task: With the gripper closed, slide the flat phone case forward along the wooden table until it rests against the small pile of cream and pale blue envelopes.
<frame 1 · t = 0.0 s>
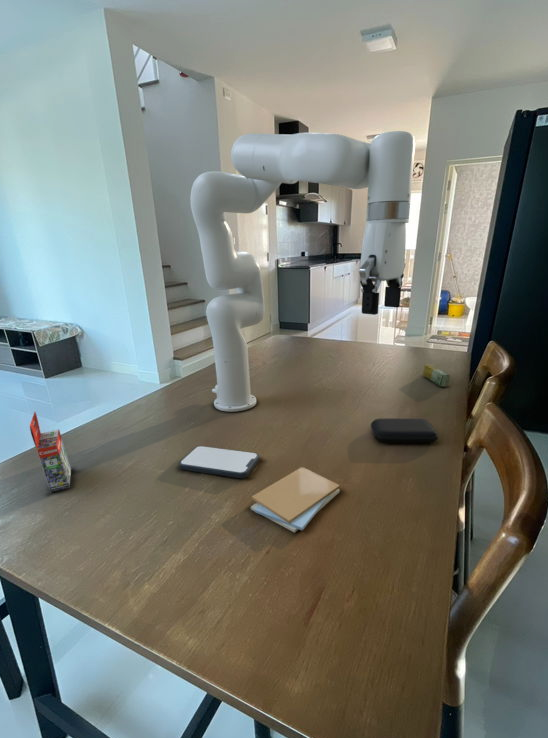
hand: (381, 310, 76), 31 cm above the table, tool pointing down, fingers open, 9 cm apart
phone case: (220, 465, 83), on the table
carrying case: (402, 435, 93), on the table
envelope pile: (296, 500, 71), on the table
medication box: (434, 381, 128), on the table
ink box: (61, 481, 79), on the table
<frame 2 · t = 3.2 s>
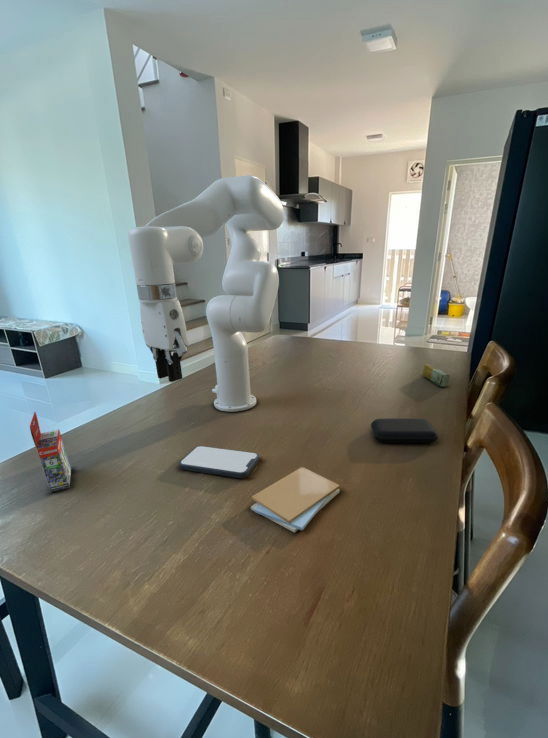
hand: (170, 377, 85), 17 cm above the table, tool pointing down, fingers open, 3 cm apart
nothing on the table moved.
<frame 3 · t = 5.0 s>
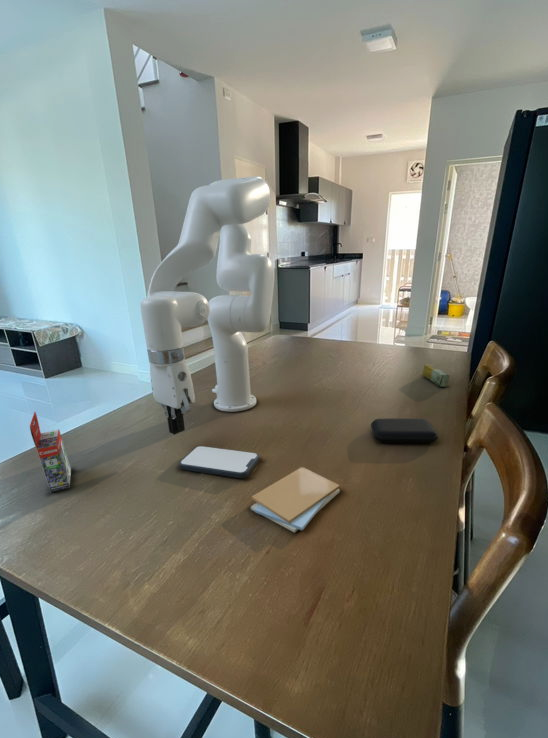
hand: (177, 431, 89), 4 cm above the table, tool pointing down, fingers closed
nothing on the table moved.
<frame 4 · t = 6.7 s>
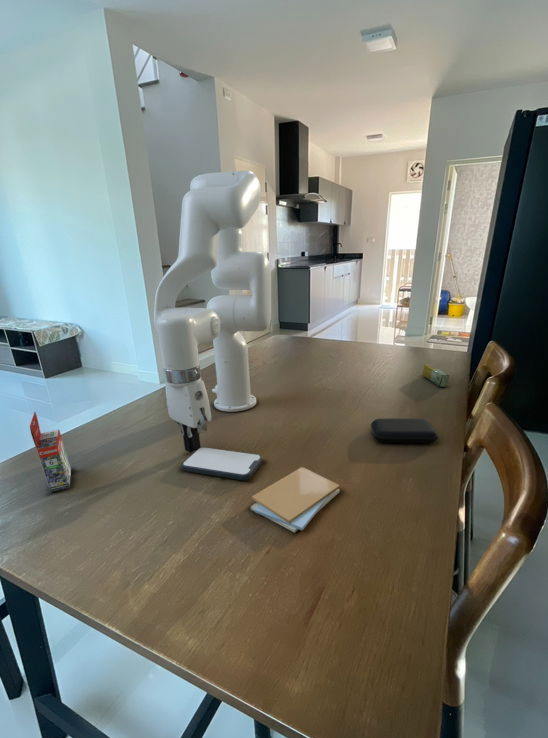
hand: (193, 449, 88), 1 cm above the table, tool pointing down, fingers closed
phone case: (222, 466, 82), on the table, touching gripper
everything else where it was.
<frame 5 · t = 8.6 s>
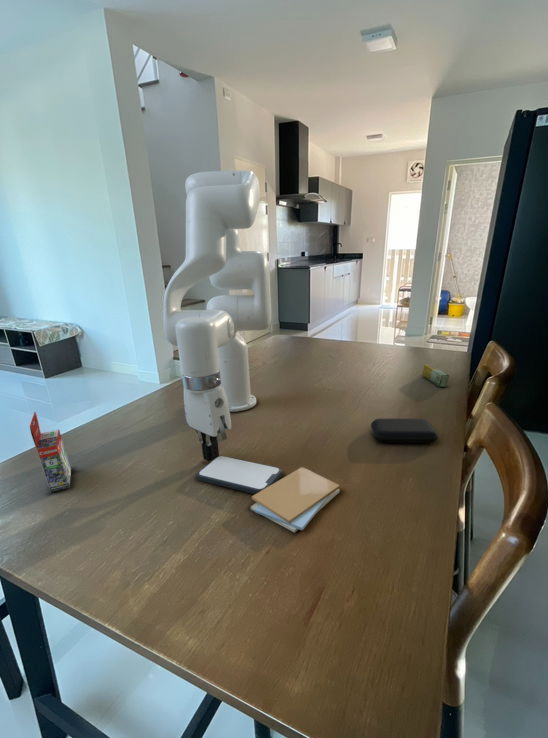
hand: (211, 457, 84), 1 cm above the table, tool pointing down, fingers closed
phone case: (239, 478, 78), on the table, touching envelope pile, gripper
everything else where it was.
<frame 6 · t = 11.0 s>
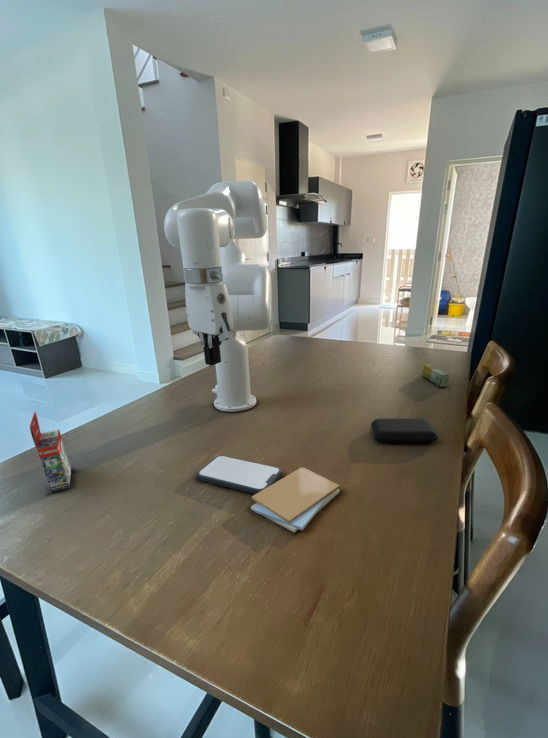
hand: (213, 363, 85), 20 cm above the table, tool pointing down, fingers closed
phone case: (239, 478, 78), on the table, touching envelope pile
everything else where it was.
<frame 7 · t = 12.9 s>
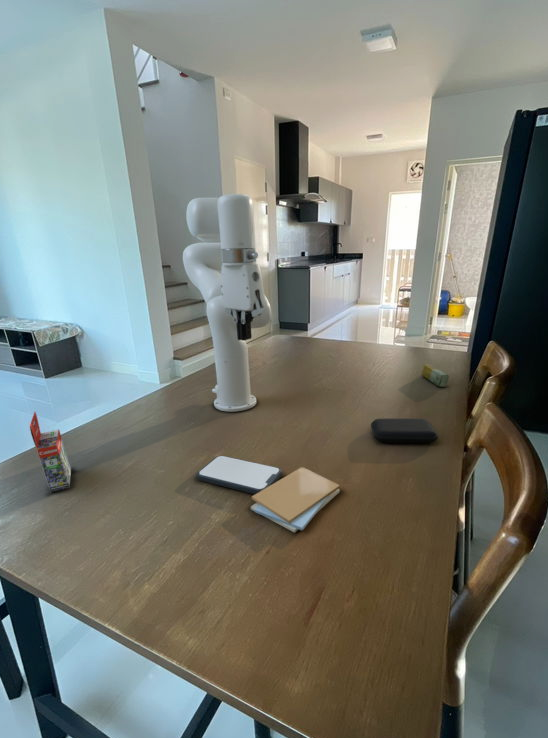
hand: (244, 339, 92), 23 cm above the table, tool pointing down, fingers closed
nothing on the table moved.
at the end: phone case inside the target area (1.3 cm from its centre), on the table; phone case moved 7.1 cm from its start; the gripper is holding nothing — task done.
